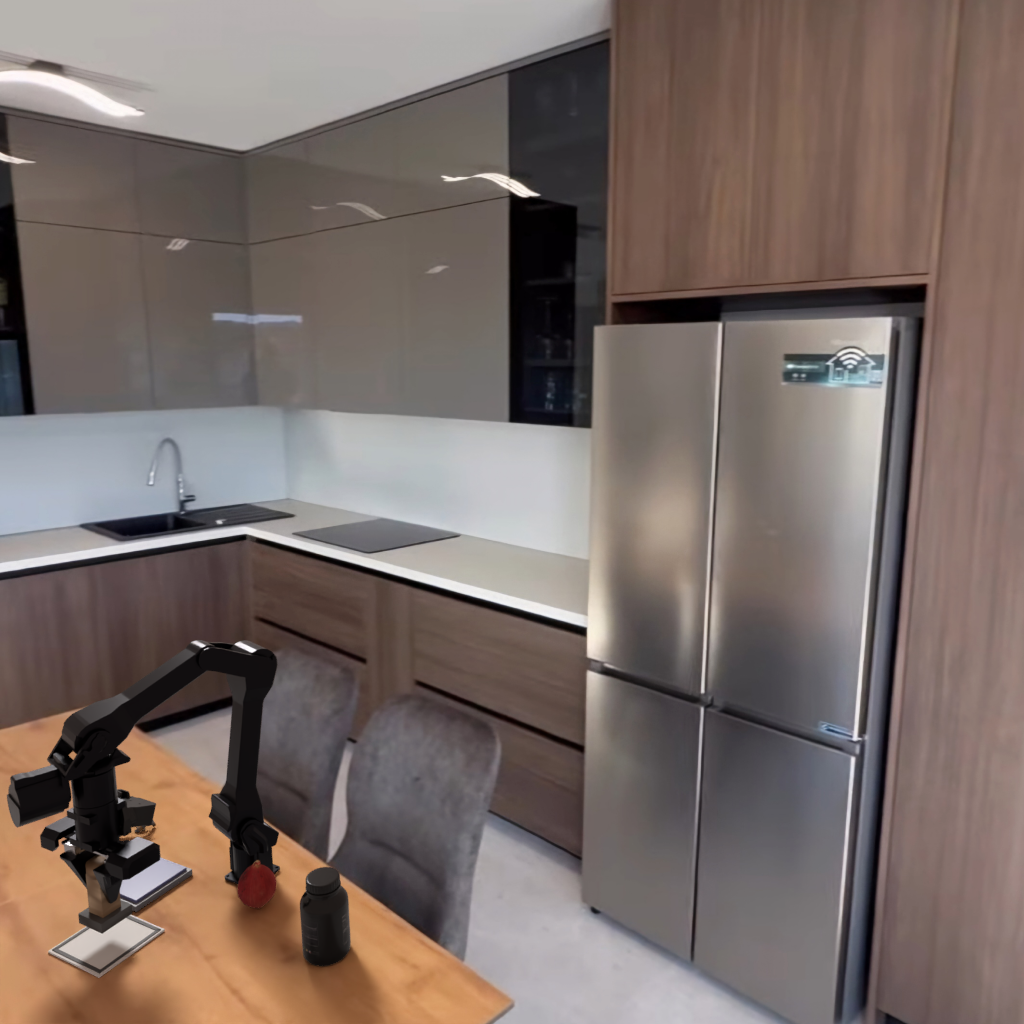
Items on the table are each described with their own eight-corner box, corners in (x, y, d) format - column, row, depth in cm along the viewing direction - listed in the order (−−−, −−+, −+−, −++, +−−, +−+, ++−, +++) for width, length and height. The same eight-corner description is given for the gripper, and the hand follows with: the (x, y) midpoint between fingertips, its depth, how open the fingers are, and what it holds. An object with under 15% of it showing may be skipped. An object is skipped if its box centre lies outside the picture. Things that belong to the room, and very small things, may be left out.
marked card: (164, 930, 124) (164, 928, 124) (99, 977, 114) (98, 975, 114) (115, 909, 129) (114, 907, 129) (48, 952, 119) (47, 950, 119)
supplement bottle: (330, 929, 124) (327, 856, 122) (360, 949, 120) (358, 873, 118) (292, 954, 119) (288, 877, 117) (322, 975, 115) (319, 897, 113)
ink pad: (192, 874, 138) (191, 866, 137) (136, 912, 128) (135, 903, 128) (158, 861, 141) (158, 853, 141) (101, 897, 132) (100, 889, 131)
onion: (237, 922, 126) (234, 874, 124) (239, 899, 131) (236, 853, 130) (277, 916, 127) (275, 868, 126) (277, 893, 133) (275, 847, 131)
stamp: (132, 913, 122) (127, 857, 120) (102, 933, 118) (97, 875, 116) (109, 903, 124) (104, 848, 123) (79, 923, 120) (73, 865, 118)
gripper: (187, 788, 121) (194, 885, 123) (101, 761, 129) (110, 853, 132) (121, 825, 111) (130, 930, 113) (33, 793, 119) (43, 892, 122)
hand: (104, 898), depth 120 cm, fingers closed on stamp, 3 cm apart
